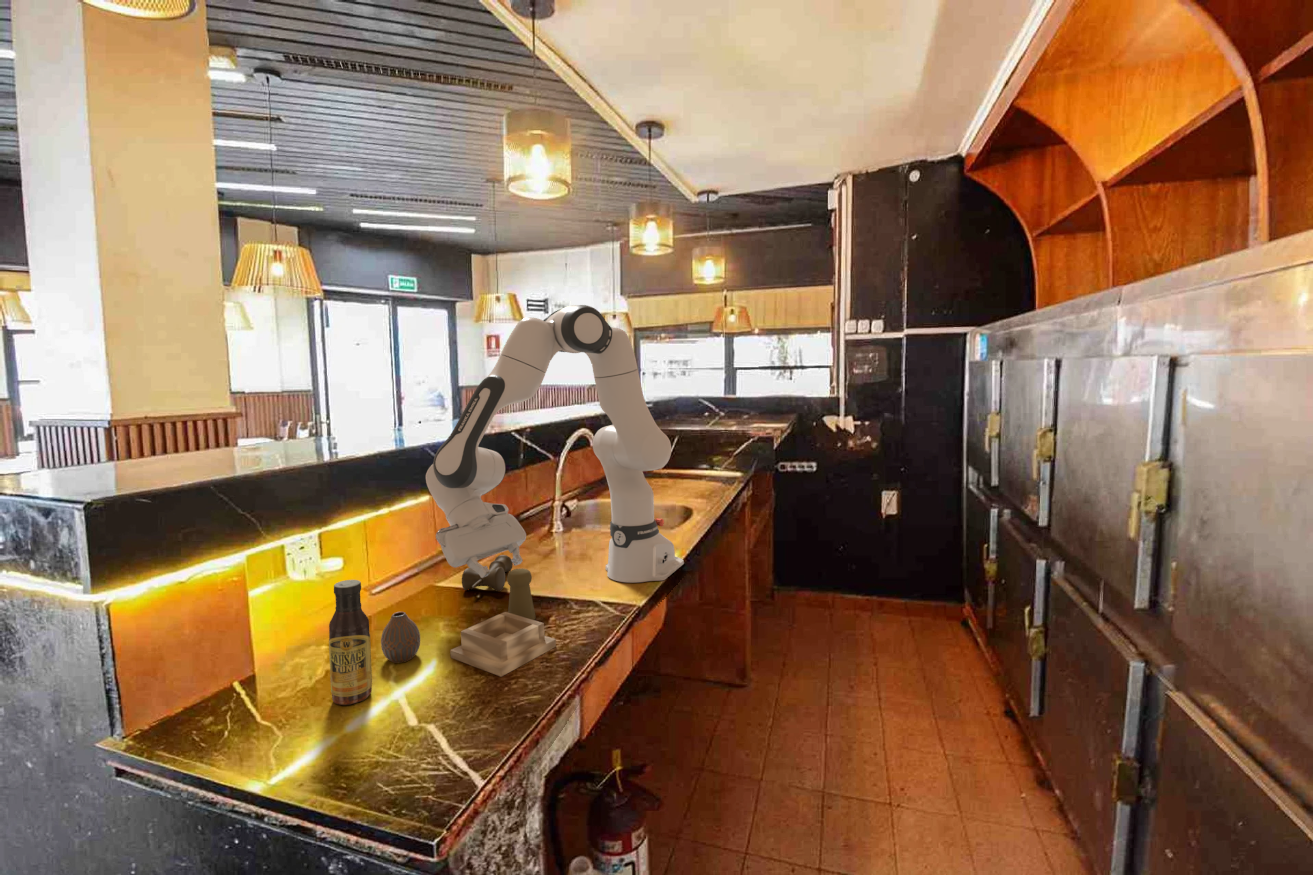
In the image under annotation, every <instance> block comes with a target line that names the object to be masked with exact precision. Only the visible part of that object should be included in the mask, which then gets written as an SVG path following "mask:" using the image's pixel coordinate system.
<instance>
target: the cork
mask: <svg viewBox="0 0 1313 875" xmlns="http://www.w3.org/2000/svg"><path fill="white" fill-rule="evenodd" d="M532 577H533V576H532V573H531V571H530V570H529V569H528V568H515V569H511V571H510V572H508V573H507V576H506V580H507V585H509V595H508V596H509V597H508V598H509V599H508V607H507V608H508V610H507V612H508V613H511V614H514V615H518V616H521V617H525V618H528V619H531V620H535V621H536V611H535V606H534V602H533V597H532V592H531V587H530V585H531V582H532Z"/></svg>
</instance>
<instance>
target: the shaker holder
mask: <svg viewBox="0 0 1313 875" xmlns="http://www.w3.org/2000/svg"><path fill="white" fill-rule="evenodd" d="M460 639H461V644H460V645H458V646H456V647H454V648H452V649H450V650H449V651H450V658H451V659H453V660H456V661H459V662H461V663H464V664H467V665H469V666H471V667H474V668H477V669H479V670H481V671H485V672H488V673H491V674H493V675H496V676H498V677H501V678H502V677H504V676H505V675H507V674H508V673H511V672H513V671H514V670H516V669H518V668H519V667H522V666H523V665H525V664H527V663H529V662H530V661H531V662H532V661H533V660H534V659H536V658H538V657H540V656H542V655H543V654H545V653H547V652H549V651H551V650H552V649H554V648H556V647H557V639H556V638H554V637H550V636H548V635H547V636H546V635H545V623H544V622H541V621H538V620H536V619H535V620H531V619H528V618H525V617H521V616H518V615H514V614H511V613H508V611H503V612H501V613H500V614H497V615H495V616H492V617H490V618H488V619H486V620H484V621H483V620H482V621H481V622H478V623H477V624H474V625H471V626H469V627H468V628H465V629H463V630H461V631H460Z"/></svg>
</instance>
